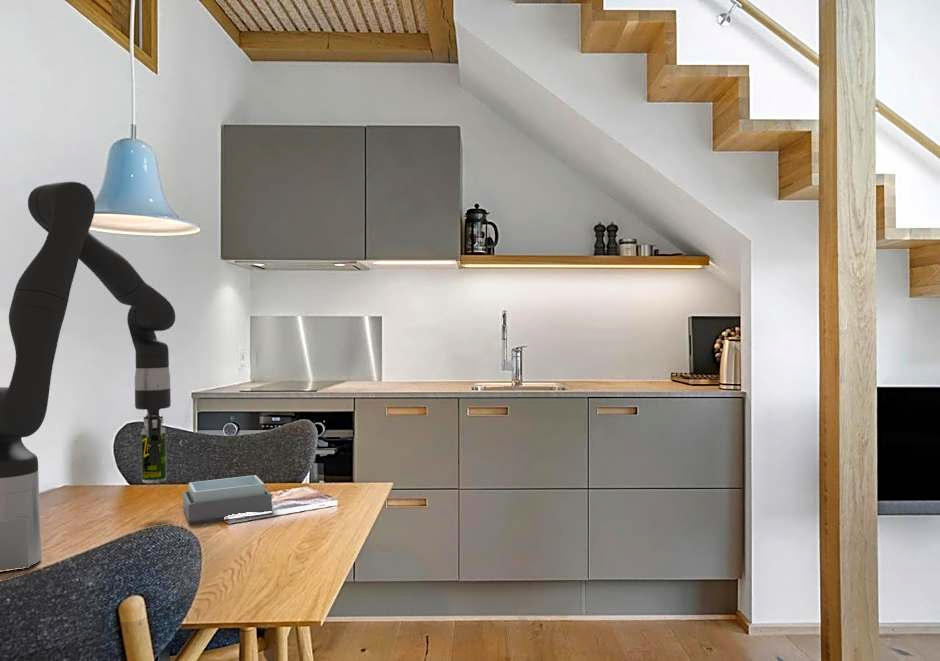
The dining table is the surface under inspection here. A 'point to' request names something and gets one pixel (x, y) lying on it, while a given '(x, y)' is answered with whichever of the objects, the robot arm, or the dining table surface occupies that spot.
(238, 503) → the bottom crate
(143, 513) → the dining table surface
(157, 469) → the beer can
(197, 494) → the top crate
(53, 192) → the robot arm
